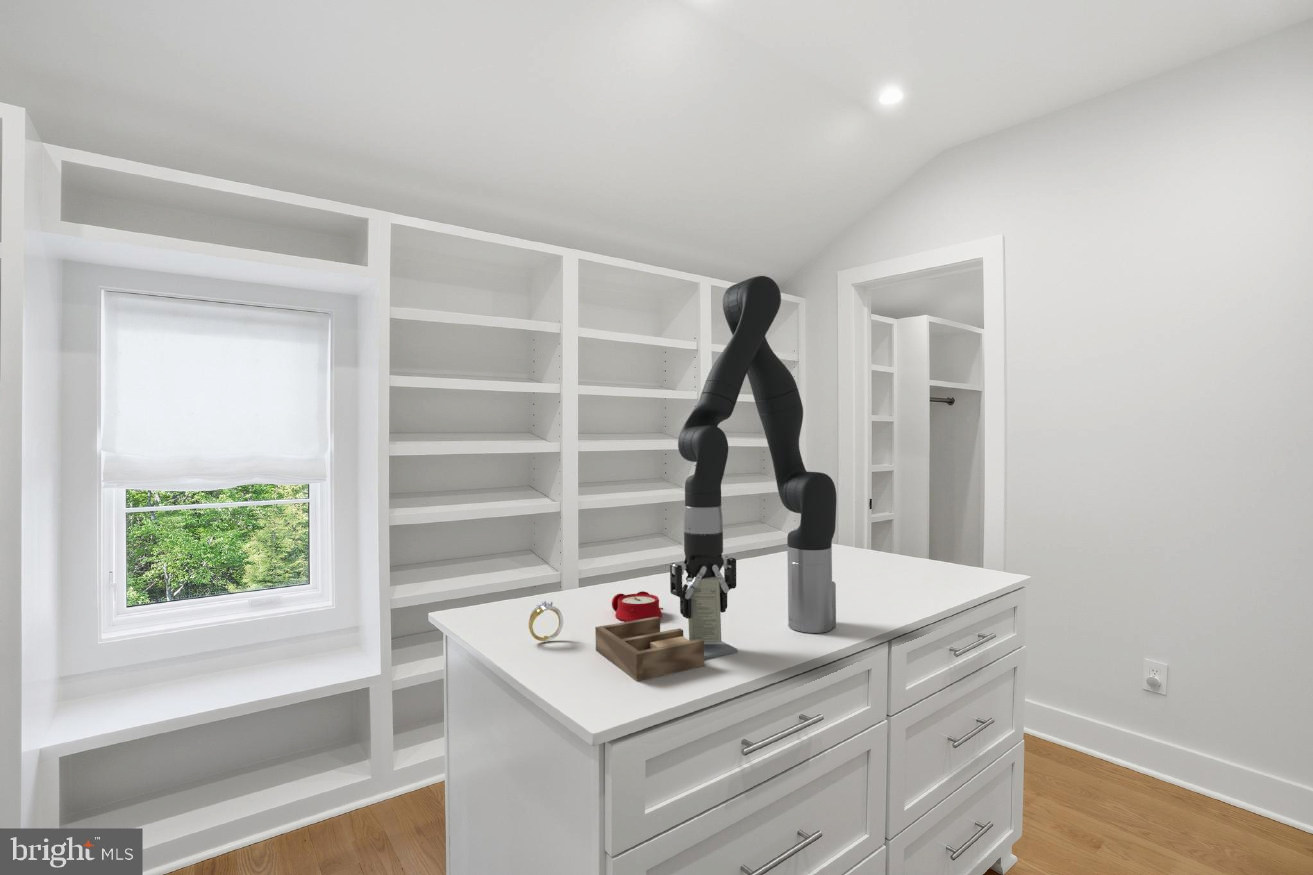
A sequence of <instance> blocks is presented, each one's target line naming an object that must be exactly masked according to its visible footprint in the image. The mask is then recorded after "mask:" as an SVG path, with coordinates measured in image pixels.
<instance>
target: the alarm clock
mask: <svg viewBox="0 0 1313 875" xmlns="http://www.w3.org/2000/svg"><path fill="white" fill-rule="evenodd" d="M611 608H612V610H613V611H615V614H614V615H615V618H616V619H617V620H619V621H622V622H628V621H634V620H640V619H646V618H652V617H659V618H660V619H661V617H662V616H663V613H662V611H663V610H664V607H660V598H659V597H658V596H657V595H654V594H650V593H649V592H647V591H642V590H641V591H638V592H636V593H630V594H629V593H628V594H625V593H617V594H616V595H614V596H613V597H612V599H611Z"/></svg>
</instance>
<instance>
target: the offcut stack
mask: <svg viewBox="0 0 1313 875" xmlns="http://www.w3.org/2000/svg"><path fill="white" fill-rule="evenodd" d="M687 641H690V640H689V638H686V637H684V635H683V636H681V637H676V638H670V639H665V640H660V641H655V642H650V649H652V648H657V647H662V646H667V645H672V644H677V643H682V642H687Z"/></svg>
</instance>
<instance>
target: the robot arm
mask: <svg viewBox="0 0 1313 875" xmlns="http://www.w3.org/2000/svg"><path fill="white" fill-rule="evenodd" d="M781 304H782V293H781V291H780V287H779V285H778V284H777V283H776V281H775V280H774V279H772V278H771V277H770V276H766V275H757V276H754V277H750V278H748V279H745V280H742V281H741V282H737V283H735V284H733V285H731V286H730V287H728V288H727V289H726V290H725V292H724V294H723V297H722V310H723V315H724V317H725V320H726V322H727V325H728V328H729V330H730V332H731V335H732V336H731V338H730V340H729V341H728V343H727V344H726V346H725V347H724V349H723V351H722V352H721V353H720V355H719V356H718V357H717V359H716V360H715V362H714V364H713V365H712V367H711V369H710V371H709V372H708V375H707V377H706V380H705V382H704V386H703V388H702V391H701V394H700V397H699V400H698V402H697V404H696V405H695V407H694V408H693V409H692V411H691V412H690V414H689V416H688V418H687V419H686V421H685V422H684V423H683V426H682V428H681V429H680V433H679V436H678V439H677V448H678V452H679V455H680V456H681V457H682V458H683V459H684V460H686V461H687V462H691V463H692V462H693V463H695V468H694V473H693V474H692V475H690V476H687V478H686V479H685V482H684V514H683V551H684V552H683V553H684V555H685V556H684V557H685V558H684V561H683V562H682V563H681V562H680V563H675V562H671V563H670V564H669V576H670V577H669V584H670V587H669V588H670V594H671V595H673V596H676V597H678V598H679V612H680V614H681V616H682V617H683V618H684V619H688V618H691V599H690V597H691V595H692V593H693V591H694V589H696V588H697V586H698V584H699V582H700V580H701V579H703V578H708V577H718V578H719V587H720V613H725V612H726V611H727V610H726V609H728V593H729V592H730V591H731V590H732V589H736V588H737V559H736V558H734V557H731V556H728V555H727V556H725V557H723V555H722V554H723V552H724V533H723V532H724V517H723V509H722V481H723V479H724V476H725V475H724V474H725V470H726V466H727V461H728V456H729V443H728V438H727V436H726V433H725V432H724V430H722V429H721V427H719V424H720V423H722V422H724V421H725V420H728V419H730V417H731V416H732V414H733V412H734V410H735V407H736V403H737V402H738V398H739V395H740V393H741V389H742V387H743V385H744V384H743V383H744V381H745V378H746V376H747V378H748V383H749V385H750V388H751V392H752V396H753V398H754V399H753V400H754V403H755V406H756V408H757V413H758V416H759V418H760V421H761V424H762V427H763V432H764V435H765V438H766V441H767V446H768V449H769V453H770V456H771V457H770V458H771V460H772V464H773V465H772V466H773V470H774V476H775V481H776V486H777V491H778V494H779V498H780V501H781V503H782V505H783V506H784V507H785V509H787V510H789V511H790V512H792V513H796V514H800V522H799V526H798V528H796V529H794V530H791V531H789V532H788V533H787V545H786V546H787V552H786V553H787V615H788V616H787V618H788V622H787V623H788V624H787V626H788V627H789V628H790V629H792V630H795V631H797V632H802V633H810V634H821V633H826V632H830V631H832V630H833V628H836V627H837V596H836V595H837V594H836V593H837V592H836V591H837V590H836V588H837V587H836V585H837V584H836V582H835V581H833V546H832V544H833V542H832V541H833V538H834V536H835V532H836V525H837V524H836V522H837V521H836V520H837V503H838V502H837V501H838V500H837V490H836V489H837V488H836V486H835V485H836V484H835V482H834V480H833V479H832V477H831V476H829V475H828V473H827V474H826V473H824V472H818V471H807V470H806V467H805V464H804V462H803V459H802V454H801V449H800V437H801V433H802V432H801V431H802V425H803V419H804V406H803V401H802V398H801V396H800V392H799V387H798V385H797V382H796V379H795V378H794V376H793V374H792V373H791V371H790V370H789V369H788V367H787V366H786V365H785V363H783V362H782V360H781V359H780V358H779V357H778V356H777V355H776V353H774V351H773V350H772V348H771V347H770V345H769V343H768V342H769V341H768V340H767V338H766V335H767V333H768V332H769V330H770V328H771V326H772V324H773V322H774V320H775V318H776V317H777V314H778V313H779V310H780V308H781ZM722 568H724V571H723V574H724V576H723V575H722V573H721V570H722ZM685 572H686V574H685ZM684 574H685V576H684V578H683V575H684ZM688 578H692V579H693V581H692V582H688V583H687V579H688ZM687 585H688V588H687Z"/></svg>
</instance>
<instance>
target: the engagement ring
mask: <svg viewBox="0 0 1313 875" xmlns="http://www.w3.org/2000/svg"><path fill="white" fill-rule="evenodd" d="M548 610H549V611H552V612H554V614H556V615H557V618H558V627H557V629H556V631H555V632H554V633H552V634H551V635H549V636H548V635H544V636H539V635H537V634H536V633H535V630H534V628H533V625H534V621H535V620H536V619H537V617H539V616H540V615H542V614H543V613H544V611H548ZM527 625H528V629H529V630H528V631H529V633H530V635H531V636H532V637H533V638H534V639H535V640H537V641H539V642H543V643H544V642H545V643H548V642H549V641H552V640H554V639H555V638H557V637H558V636H559V635H560V634H561V632H562V629H563V628H564V627H563V626H564V616H563V614H562V611H561V610H560V609H559V608H558V607H556V606H553V601H551V602H547V601H542V602H541V603H540V604H536V607H535V608H534V609H533V610H532V611H531V613H530V615H529V618H528V624H527Z"/></svg>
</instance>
